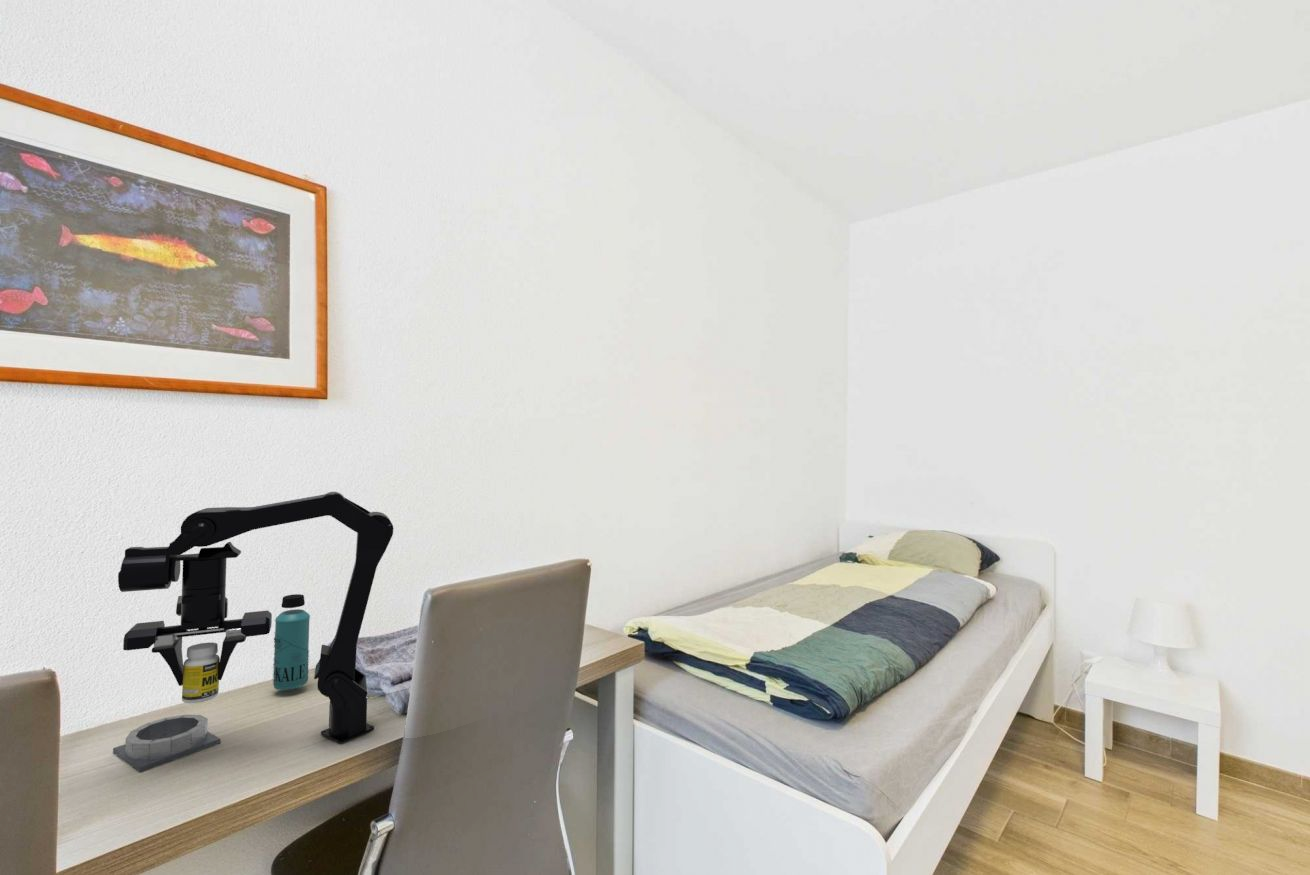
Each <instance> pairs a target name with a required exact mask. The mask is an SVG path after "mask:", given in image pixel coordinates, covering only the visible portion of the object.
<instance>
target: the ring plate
mask: <svg viewBox="0 0 1310 875" xmlns="http://www.w3.org/2000/svg"><path fill="white" fill-rule="evenodd" d="M208 723H209V721H208V717H206V716H203V715H201V714H181V715H173V716H168V717H163V718H160V719H156V720H154V721H150V722H146V723H144V724H143V725H140V726H138V727H137V728H135V729H132V730H131V731H130V732H129V733H128V735H127V736H126V737H125V743H124V744H122V745H119V746H115V747H113V748H112V754H114V755H115V754H116V755H117V757H118V758H119V757H120V758H121V761H123V760H124V761H125V762H124V761H123V762H124V763H126V764H127V765H129V767H131V766H132V767H131V768H133V769H134V770H135V769H136V770H135V771H136V772H138V773H143V772H145V771H148V770H151V769H154V768H156V767H159V766H162V765H165V764H167V763H170V762H172V761H173V762H174V761H175V760H179V759H181V758H183V757H186V756H189V755H192V754H195V753H198V752H201V751H203V750H206V749H208V748H210V747H214V746H217V745H220V744H221V738H220V737H218V736H216V735H215V734H213V733H211V732H210V731H208ZM116 755H115V756H116ZM120 758H119V759H120Z"/></svg>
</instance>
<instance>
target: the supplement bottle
mask: <svg viewBox="0 0 1310 875" xmlns="http://www.w3.org/2000/svg"><path fill="white" fill-rule="evenodd" d="M218 646H219V644H218V643H216V642H201V643H197V644H192V645H190V646H188V647H187V648H186V659H185V660H184V661H183V685H182V691H181V692H182V694H181V701H182V702H183V704H184V703H185V704H198V703H204V702H208V701H210V700H212V699H215V697H217V696H218V695H219V686H220V685H219V684H220V680H218V670H219V664H220V657H221V656H220V655H218V652H219V650H218V649H219V648H218Z"/></svg>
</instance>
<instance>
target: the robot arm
mask: <svg viewBox="0 0 1310 875" xmlns="http://www.w3.org/2000/svg"><path fill="white" fill-rule="evenodd" d="M325 516H326V517H328V516H330V517H332V518H334V519H335V520H337V521H338V522H339V523H341V524H343V525H344V526H346V527H347V528H349V529H351V530H352V531H354V532H355V533H357V534H356V545H355V546H356V547H355V548H356V549H355V560H354V561H355V562H354V565H353V569H352V572H351V576H350V580H349V584H348V587H347V592H346V595H345V597H344V598H345V599H344V602H343V605H342V606H343V607H342V610H341V613H340V614H341V615H340V618H339V621H338V625H337V629H336V633H335V636H334V638H333V640H332V642H331V643H330V645H327V644H321V646H320V647H321V648H320V649H321V650H320V656H319V660H318V661H317V663H316V664H315V669H314V676H313V678H314V680H317V690H318V691H319V692H320V694H321V695H323V696H324V697H326V698H328V699H329V707H328V708H329V709H328V710H329V712H328V714H329V715H328V727H329V728H328V727H327V728H326V729H323V730H321V731H320V736H322V737H324V738H327V739H329V740H332V741H333V742H336V743H338V744H344V743H346V742H348V741H351V740H353V739H355V738H358V737H360V736H362V735H365V734H367V733H369V732H372V731H374V730H375V726H374V725H372V724H370V723H367V722H368V720H367V718H368V716H367V715H368V714H367V712H368V711H367V710H368V699H367V698H366V696H367V691H368V685H367V684H368V683H367V676H366V675H365V673H363V672H362V671H360V670H359V669H357V668H356V664H357V650H358V649H357V646H358V640H359V636H360V633H361V632H360V631H361V629H362V624H363V621H364V617H365V613H366V609H367V605H368V602H369V597H370V594H371V590H372V586H373V582H374V580H375V576H376V571H377V569H378V568H377V567H378V565H379V563H380V562H381V560H382V558H383V556H384V554H385V552H386V551H387V548H388V546H389V545H390V542H391V539H392V538H393V535H394V525H393V522H392V521H391V519H390V518H389V517H388V515H386V514H385V513H383V512H380V511H369V510H368V509H366V508H364V507H362V506H361V505H359V504H357V503H355V502H354V501H352V500H350V499H349V498H346V497H345V496H344V495H343V494H342V493H341V492H338V491H330V492H326V493H325V494H318V495H313V496H307V497H303V498H297V499H291V500H285V501H280V502H274V503H268V504H263V505H256V506H246V507H245V506H244V507H243V506H241V507H238V506H237V507H236V506H233V507H232V506H231V507H230V506H228V507H227V506H226V507H225V506H224V507H223V506H222V507H206V508H202V509H199V510H197V511H195V512H193V513H190V514H189V515H188V516H186V517H185V518H184V520H183V521H182V524H181V525H180V534H179V535H178V536H177V537H176V538H175V540H173V541H172V542H170V543H169V546H152V547H143V546H130V547H128V548H126V549H125V550H124V557H123V560H122V562H121V566H120V571H119V572H118V575H117V582H118V589H119V590H120V592H121V593H126V592H128V593H129V592H141V591H153V590H156V591H157V590H168V589H169V588H170V587H171V584H172V583H177V582H178V581H179V579H180V575H181V562H182V578H181V580H182V581H181V595H178V596H177V602H176V606H175V607H176V609H175V614H176V615H177V616H178V617H180V624H177V625H170V626H165V622H164V620H158V621H157V620H156V621H147V622H137V623H136V624H134V625H132V627H131V628H130V629H129V630H127V632H126V633H125V634H124V637H123V649H122V650H123V651H132V650H133V651H134V650H144V649H149V648H150V647H152V646H153V647H152V649H151V653H153V654H155V653H156V654H157V653H159V654H160V656H161V657H162V658H163V660H164V661H165V662H166V664H167V665H168V666H169V669H170V670H171V673H172V674H173V676H174V678H175V681H176V682H177V684H178V686H179V687H181V686H182V687H183V664H184V659H183V638H184V637H195V636H203V635H211V634H220V633H225V637H224V639H223V641H222V645H221V646H222V647H221V651H220V656H219V657H220V664H219V670H218V680H219V681H222V679H223V676H224V674H225V671H226V668H227V667H228V666H227V665H228V663H229V660H230V658H231V655H232V654H233V652H234V650H235V648H236V646H237V645H238V644H239V643H240V644H241V643H243V642H244V643H245V642H246V639H247V637H257V636H265V635H269V634H270V632H271V628H272V622H273V620H272V619H273V618H272V616H273V614H272V612H270V611H269V610H258V611H250V612H249V611H248V612H244V614H243V616H242V617H241V618H236V619H227V618H228V611H229V610H228V604H229V603H228V602H229V601H228V597H226V587H227V586H226V583H227V580H226V579H227V560H228V559H229V558H230V559H233V558H234V559H236V558H238V557H239V555H241V554H242V551H241V549H239V548H237V547H236V546H234V545H233V543H232V542H231V541H228V542H226V543H225V544H224V545H223V546H220V547H219V546H217V547H213V546H212V547H209V546H211V545H216V544H217V543H218V544H219V543H220V542H223V541H226V540H228V539H232V538H234V537H236V536H240V535H242V534H245V533H248V532H250V531H253V530H258V529H259V530H260V529H264V528H268V527H269V528H270V527H274V526H280V525H285V524H290V523H295V522H296V523H297V522H300V521H301V522H302V521H306V520H311V519H316V518H321V517H325ZM195 547H198V548H200V550H199V552H198V553H189V554H186V552H188V551H189V550H191V549H193V548H195ZM184 553H185V554H184ZM225 619H226V620H225Z"/></svg>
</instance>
